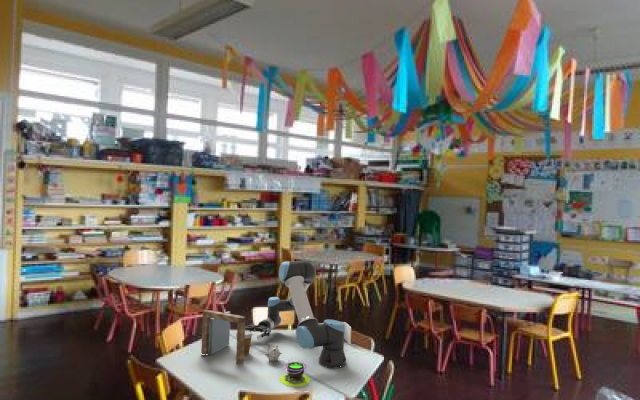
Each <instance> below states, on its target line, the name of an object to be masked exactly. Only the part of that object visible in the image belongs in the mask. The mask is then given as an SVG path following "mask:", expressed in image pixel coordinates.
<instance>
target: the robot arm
mask: <svg viewBox="0 0 640 400" xmlns="http://www.w3.org/2000/svg"><path fill="white" fill-rule="evenodd" d="M316 277H317V270H316V267H315V265H314V264H313V263H312V262H310V261H308V260H297V261H294V260H293V261H289V260H288V261H282V262H281V264H280V265H279V269H278V279H279V281H280V282H282V283H284V286H285V287H287V288H288V290H289V294H290V295H289V298H288V299H280V297H276V296H271V297H268V301H267V316H266V317H267V318H265V319H263V320H261V321H259V322H258V323H257V324H256V325H255V324H254V323H252V324H249V325H245V330H249V331H251V332H252V333H253V332H257V333H258V332H260V333H259V334H257V337H256V338H257V340H258V341H259V340H261V339H262V338H265V337H270V336H271V335H270V334H271V332H272V330H273V329H274V328H277V327H279V325H281V324H282V317H281V315H280V313H282V312H283V313H284V312H295V313H296V316H297V320H298V324H297V328H296V329H295V339H296V341H297V343H298V345H299V347H301V348H303V349H312V348H319V347H322V349H321V352H320V354H319V356H318V363H319V364H320V366H322V365H323V367H325V366H327V367H326V368H329V367H339V368H341V367H340V366H343V365H345V364H347V357H346V353H345V351H344V346H345V345H344V344H345V339H344V332H345V329H344V324H343V323H342V322H343V321H339V320H335V319H324V320H323V323H324V324H319V323H320V322H319V320H318V319H317V318H315V317H314V314H313V310H312V308H311V305H310V301H309V298H308V295H307V290H308V288H309V287H310V285H312V283H314V282H315V279H316ZM345 366H346V365H345ZM343 367H344V366H343Z"/></svg>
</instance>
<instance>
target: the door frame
mask: <svg viewBox="0 0 640 400" xmlns="http://www.w3.org/2000/svg"><path fill="white" fill-rule="evenodd" d="M211 318H215V319H220V320H225V321H230V323H237V326H236V327H237V329H236V334H237V337H236V352H235V353H236V356H235V363H236V364H239V365H241V364H243V363H244V362H245V355H244V343H245V326H246V316H243V315H239V314H234V313H233V314H231V313H230V314H228V313H225V312H223V311H222V312H221V311H215V310H210V309H204V310H203V311H202V324H201V325H202V326H201V352H200V353H202V354H205V355H206V354H208V344H209V319H211Z"/></svg>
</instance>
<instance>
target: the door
mask: <svg viewBox="0 0 640 400" xmlns="http://www.w3.org/2000/svg"><path fill="white" fill-rule="evenodd" d="M224 313H228V314H231V311H226V312H224ZM230 329H231V321H225V320H220V319H215V318H210V319H209V344H208V355H207V356H212V355H213V354H215V353H216V352H219V351H220V350H222V349H225V348H226V347H228V346H230V332H231V331H230Z"/></svg>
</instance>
